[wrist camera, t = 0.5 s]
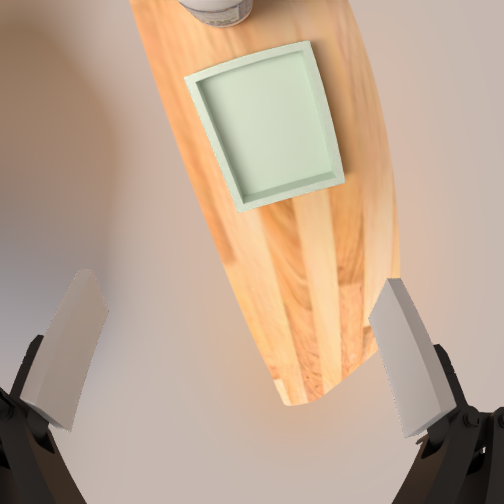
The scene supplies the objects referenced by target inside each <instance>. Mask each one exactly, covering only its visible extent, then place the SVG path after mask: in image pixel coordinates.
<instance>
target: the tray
mask: <svg viewBox="0 0 504 504" xmlns="http://www.w3.org/2000/svg"><path fill="white" fill-rule="evenodd" d="M184 80H185V82H186V85H187V87H188V90H189V92H190V95H191V97H192V100H193V102H194V105H195V107H196V110H197V112H198V114H199V117H200V119H201V122H202V124H203V127H204V129H205V132H206V134H207V137H208V139H209V142H210V144H211V147H212V149H213V151H214V154H215V156H216V159H217V161H218V164H219V166H220V169H221V171H222V174H223V176H224V179H225V181H226V184H227V186H228V189H229V191H230V194H231V196H232V199H233V201H234V203H235V206H236V208H237V211H238V213H240V212H244V211H247V210H250V209H254V208H257V207H260V206H264V205H267V204H271V203H274V202H277V201H281V200H284V199H288V198H291V197H295V196H298V195H302V194H306V193H309V192H313V191H316V190H320V189H324V188H327V187H331V186H335V185H339V184H342V183H345V178H344V172H343V167H342V162H341V157H340V153H339V148H338V143H337V139H336V134H335V130H334V126H333V122H332V118H331V114H330V110H329V106H328V102H327V98H326V94H325V91H324V87H323V84H322V80H321V77H320V73H319V70H318V67H317V63H316V60H315V57H314V54H313V51H312V48H311V45H310V42H309V40H307V41H302V42H297V43H293V44H288V45H284V46H280V47H275V48H271V49H268V50H264V51H260V52H257V53H253V54H250V55H246V56H243V57H240V58H236V59H233V60H230V61H227V62H224V63H221V64H218V65H215V66H213V67H210V68H207V69H204V70H202V71H199V72H197V73H194V74H191V75H189V76H186V77H184Z"/></svg>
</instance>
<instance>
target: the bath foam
mask: <svg viewBox="0 0 504 504" xmlns="http://www.w3.org/2000/svg"><path fill="white" fill-rule="evenodd" d="M178 2H179V3H181V4H182V5H183V6H184V7H185V8H186V9H187V10H188V11H189V12H190V13H191V14H192V15H193V16H194V17H195V18H197V19H198V20H199V21H200V22H202V23H203V24H205V25H208V26H211V27H215V28H226V27H231V26H234V25H236V24H238V23H240V22H242V21H243V20H244V19H245V18H246V17H247V16H248V15H249V14H250V12H251V10H252V8H253V4H254V0H178Z"/></svg>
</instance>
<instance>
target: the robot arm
mask: <svg viewBox="0 0 504 504" xmlns="http://www.w3.org/2000/svg"><path fill="white" fill-rule="evenodd" d="M108 312H109V311H108V308H107V306H106V303H105V301H104V298H103V296H102V293H101V290H100V288H99V285H98V283H97V280H96V277H95V274H94V271H93V270H89V269H79V270H78V272H77V274H76V276H75V277H74V279H73V281H72V282H71V284H70V286H69V288H68V290H67V292H66V294H65V295H64V297H63V299H62V301H61V303H60V305H59V307H58V309H57V311H56V313H55V315H54V317H53V319H52V321H51V323H50V325H49V328H48V329H47V332H46V334H45V336H43V335H37V337H36V338H35V339H34V340H33V341H32V342H31V343H30V345H29V348H28V350H27V352H26V356H25V357H24V359H23V361H22V362H23V363H22V364H21V366H20V369H19V371H18V374H17V376H16V379H15V381H14V384H13V387H12V389H11V392H10V394H9V395H8V394H7V393H6V392H5V391H4V390H3V389H2V388H1V387H0V504H87V503H86V502H85V500H84V498H83V497H82V495H81V493H80V491H79V489H78V488H77V486H76V484H75V482H74V480H73V479H72V477H71V475H70V473H69V471H68V469H67V467H66V465H65V463H64V461H63V458H62V456H61V454H60V452H59V450H58V447H57V445H56V443H55V441H54V438H53V436H52V433H51V431H50V430H49V428H48V425H49V423H51V424H52V425H53V426H55V427H56V428H59V429H62V430H65V431H68V432H71V429H72V425H73V421H74V417H75V413H76V409H77V406H78V402H79V399H80V395H81V392H82V388H83V385H84V381H85V378H86V375H87V372H88V369H89V366H90V363H91V359H92V356H93V353H94V351H95V348H96V345H97V341H98V339H99V336H100V334H101V331H102V328H103V325H104V322H105V320H106V317H107V315H108ZM368 319H369V321H370V324H371V327H372V330H373V333H374V336H375V339H376V342H377V345H378V348H379V351H380V354H381V357H382V360H383V363H384V367H385V370H386V373H387V376H388V380H389V383H390V386H391V390H392V393H393V397H394V400H395V404H396V408H397V411H398V415H399V419H400V423H401V426H402V431H403V435H404V438H407V437H411V436H414V435H418V434H420V433H421V432H423V431H424V430H426V429H427V432H428V434H426V435H425V436H423V437H422V438H420V439H419V440H418V441H417V442H416V444H417V445H418V444H419V443H421V442H423V443H422V445H421V447H420V450H419V452H418V454H417V456H416V458H415V460H414V463H413V465H412V467H411V469H410V471H409V473H408V475H407V477H406V479H405V481H404V483H403V484H402V486H401V488H400V490H399V492H398V493H397V495H396V497H395V499H394V500H393V502H392V504H504V407H500V408H498V409H497V410H496V411H494V412H493V413H485V412H479V411H478V410H477V409H476V408H475V407H473V406H469V405H468V404H467V402H466V400H465V397H464V394H463V391H462V389H461V386H460V384H459V381H458V378H457V376H456V374H455V373H454V369H453V366H452V365H451V361H450V359H449V357H448V354H447V353H446V351H445V350H444V349H443V348H442V347H441V346H440V344H437V345H433V344H432V342H431V340H430V337H429V335H428V333H427V331H426V329H425V326H424V324H423V322H422V320H421V318H420V316H419V314H418V312H417V309H416V307H415V306H414V303H413V301H412V300H411V297H410V296H409V294H408V292H407V290H406V288H405V286H404V284H403V282H402V280H401V279H387V280H386V282H385V284H384V287H383V289H382V291H381V293H380V295H379V297H378V300H377V302H376V304H375V306H374V308H373V310H372V312H371V314H370V316H369V318H368ZM484 447H486V448H485V453H483V448H484Z"/></svg>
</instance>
